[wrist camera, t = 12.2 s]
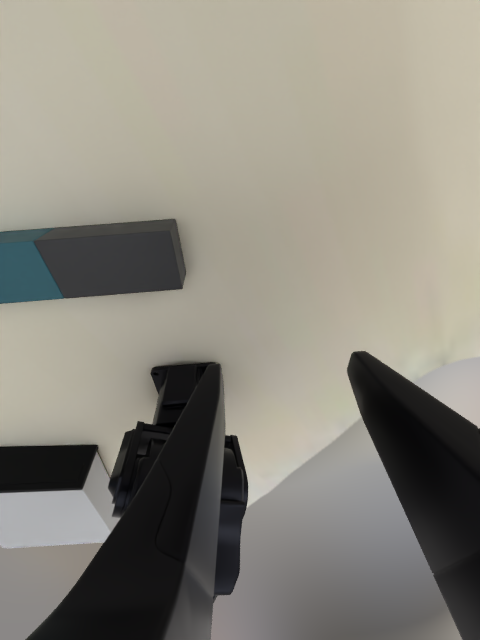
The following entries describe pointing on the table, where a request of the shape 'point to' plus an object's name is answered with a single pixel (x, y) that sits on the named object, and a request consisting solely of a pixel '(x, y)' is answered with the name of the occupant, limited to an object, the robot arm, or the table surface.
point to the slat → (90, 261)
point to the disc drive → (54, 496)
